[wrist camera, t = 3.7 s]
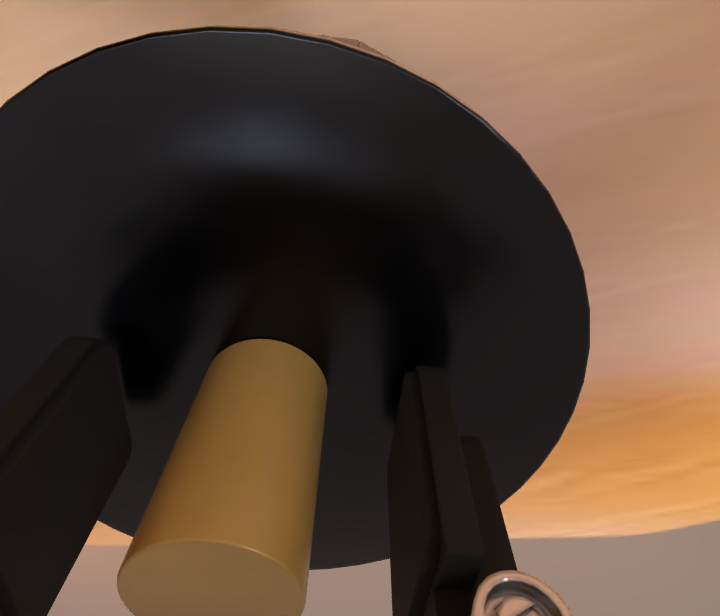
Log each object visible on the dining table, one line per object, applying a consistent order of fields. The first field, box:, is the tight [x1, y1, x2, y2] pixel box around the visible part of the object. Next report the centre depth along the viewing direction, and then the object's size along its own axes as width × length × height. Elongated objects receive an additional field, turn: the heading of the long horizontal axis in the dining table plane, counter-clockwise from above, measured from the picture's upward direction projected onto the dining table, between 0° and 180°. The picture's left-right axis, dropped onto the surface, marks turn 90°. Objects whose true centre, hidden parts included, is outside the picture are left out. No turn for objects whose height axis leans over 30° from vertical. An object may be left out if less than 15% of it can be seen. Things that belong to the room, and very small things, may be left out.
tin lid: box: [0, 25, 590, 616], centre depth 9 cm, size 14×14×6 cm
